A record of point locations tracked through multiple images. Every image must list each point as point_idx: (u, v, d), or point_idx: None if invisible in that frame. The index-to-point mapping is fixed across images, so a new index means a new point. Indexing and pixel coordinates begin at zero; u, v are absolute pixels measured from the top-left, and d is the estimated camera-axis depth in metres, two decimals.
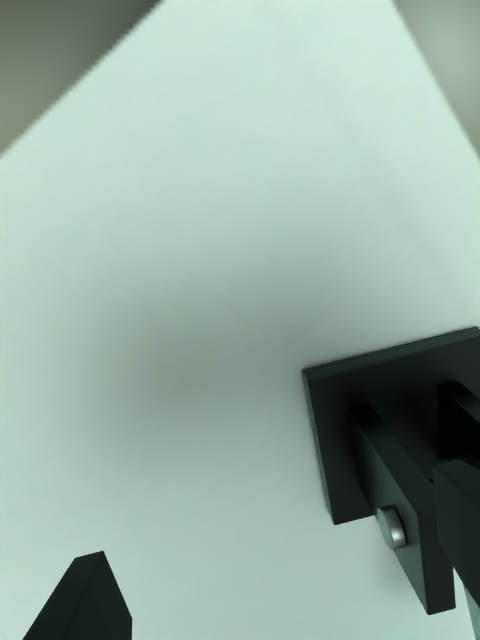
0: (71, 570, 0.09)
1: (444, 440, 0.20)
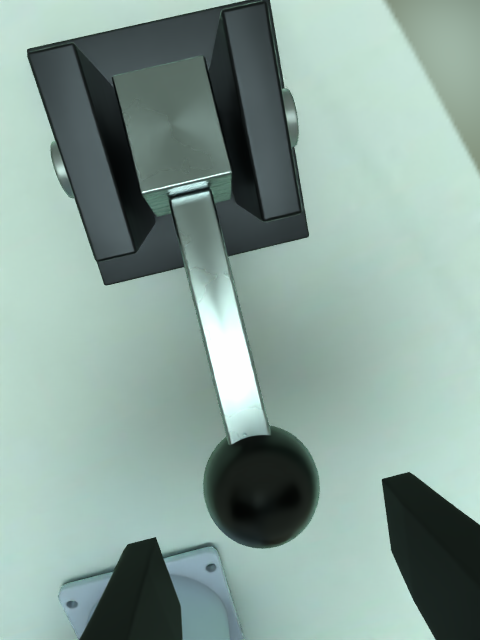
0: (127, 556, 0.09)
1: None
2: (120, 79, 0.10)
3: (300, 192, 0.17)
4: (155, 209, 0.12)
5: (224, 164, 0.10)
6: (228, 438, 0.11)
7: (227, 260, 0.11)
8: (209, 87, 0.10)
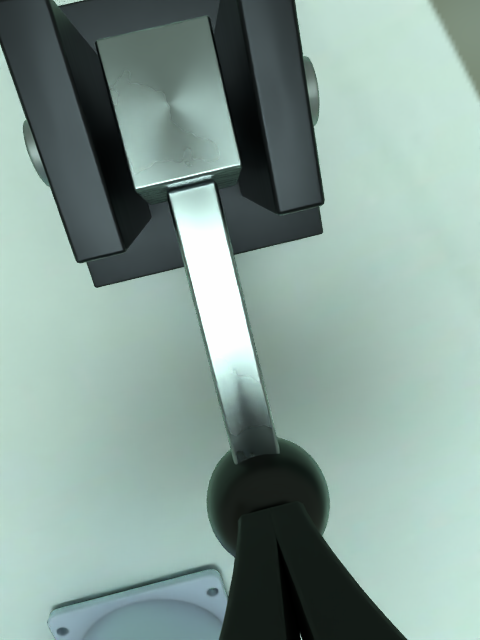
0: (248, 525, 0.09)
1: None
2: (105, 45, 0.08)
3: None
4: (150, 200, 0.10)
5: (233, 155, 0.09)
6: (234, 457, 0.10)
7: (234, 264, 0.10)
8: (215, 57, 0.08)
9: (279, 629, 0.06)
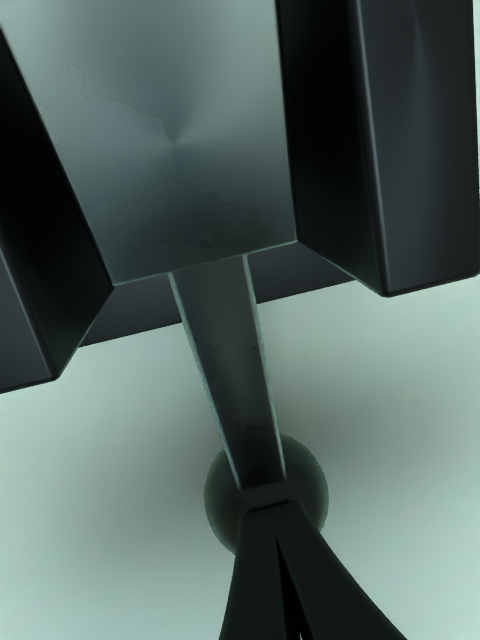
0: (248, 525, 0.09)
1: None
2: None
3: None
4: None
5: (286, 229, 0.05)
6: (239, 487, 0.10)
7: (258, 330, 0.07)
8: (275, 36, 0.04)
9: (279, 629, 0.06)
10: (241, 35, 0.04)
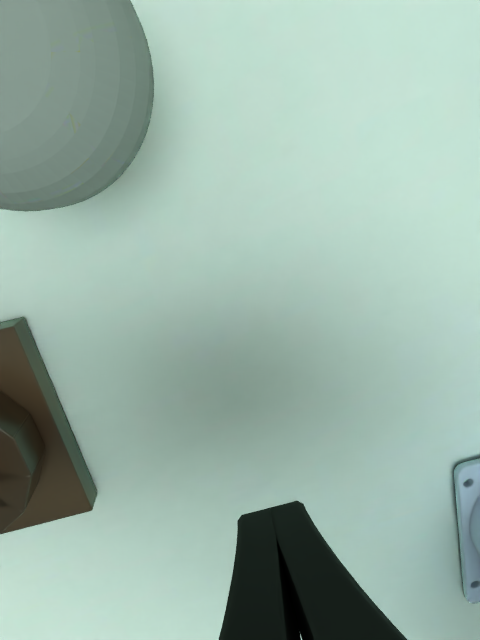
0: (247, 525, 0.09)
1: None
2: None
3: None
4: None
5: None
6: None
7: None
8: None
9: (279, 629, 0.06)
10: None
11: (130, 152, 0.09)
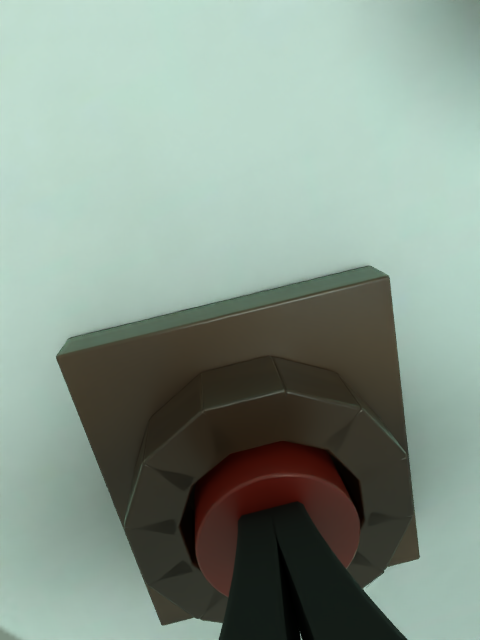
0: (248, 525, 0.09)
1: None
2: None
3: None
4: None
5: None
6: None
7: None
8: None
9: (279, 629, 0.06)
10: None
11: None
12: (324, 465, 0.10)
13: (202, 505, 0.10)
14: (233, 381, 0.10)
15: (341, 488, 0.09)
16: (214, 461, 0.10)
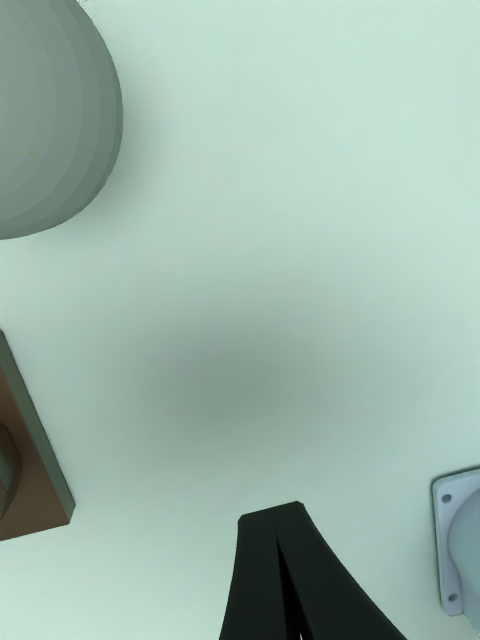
0: (248, 525, 0.09)
1: None
2: None
3: None
4: None
5: None
6: None
7: None
8: None
9: (279, 629, 0.06)
10: None
11: (97, 182, 0.09)
12: None
13: None
14: None
15: None
16: None
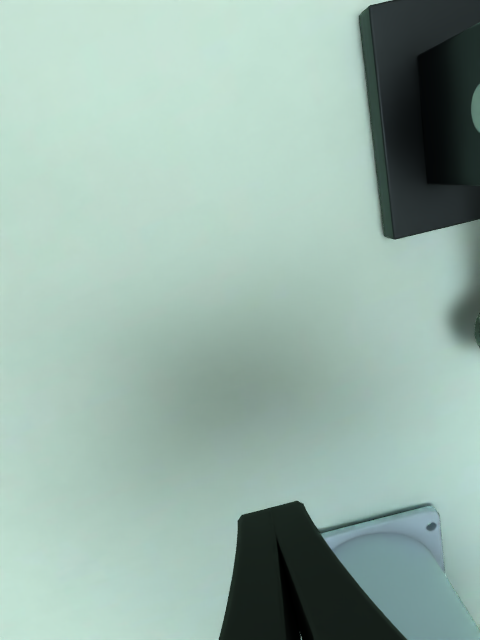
0: (248, 525, 0.09)
1: None
2: None
3: None
4: None
5: None
6: None
7: None
8: None
9: (279, 629, 0.06)
10: None
11: None
12: None
13: None
14: None
15: None
16: None
